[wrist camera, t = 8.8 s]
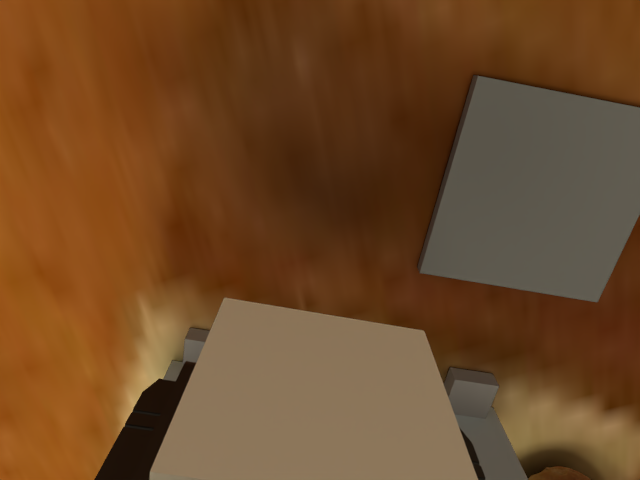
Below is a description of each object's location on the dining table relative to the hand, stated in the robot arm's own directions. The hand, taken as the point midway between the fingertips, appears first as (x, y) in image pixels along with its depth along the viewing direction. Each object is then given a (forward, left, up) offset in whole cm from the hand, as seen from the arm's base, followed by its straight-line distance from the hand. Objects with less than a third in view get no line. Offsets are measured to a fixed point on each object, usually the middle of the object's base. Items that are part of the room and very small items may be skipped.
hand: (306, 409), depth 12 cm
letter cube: (0, 0, -1) cm, 1 cm away
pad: (-10, -4, -11) cm, 15 cm away
